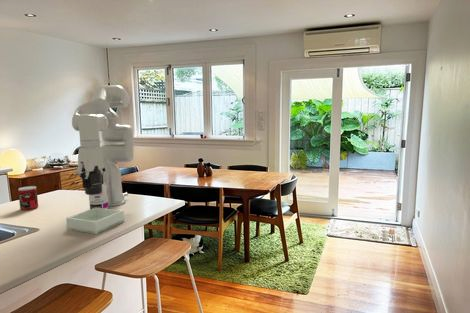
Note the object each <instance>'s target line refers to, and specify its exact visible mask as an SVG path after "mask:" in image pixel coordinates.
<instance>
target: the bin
mask: <svg viewBox="0 0 470 313" xmlns="http://www.w3.org/2000/svg"><path fill="white" fill-rule="evenodd" d="M65 221H66V228H67V229H66V230H68V231H75V232H80V233H87V234H92V235H98V234H100V233H101V234H102V232H105V231H107V230H109V229H111V228H113V227H116V226H118V225H120V224H122V223H124V222H125V215H124V210H121V209H120V210H119V209H112V208H111V209H110V208H108V209H105V208H96V207H95V208H93V209H90V208H89V209H87V210H85V211H81V212H79V213H77V214H74V215H71V216H68V217H66V220H65Z"/></svg>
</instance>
